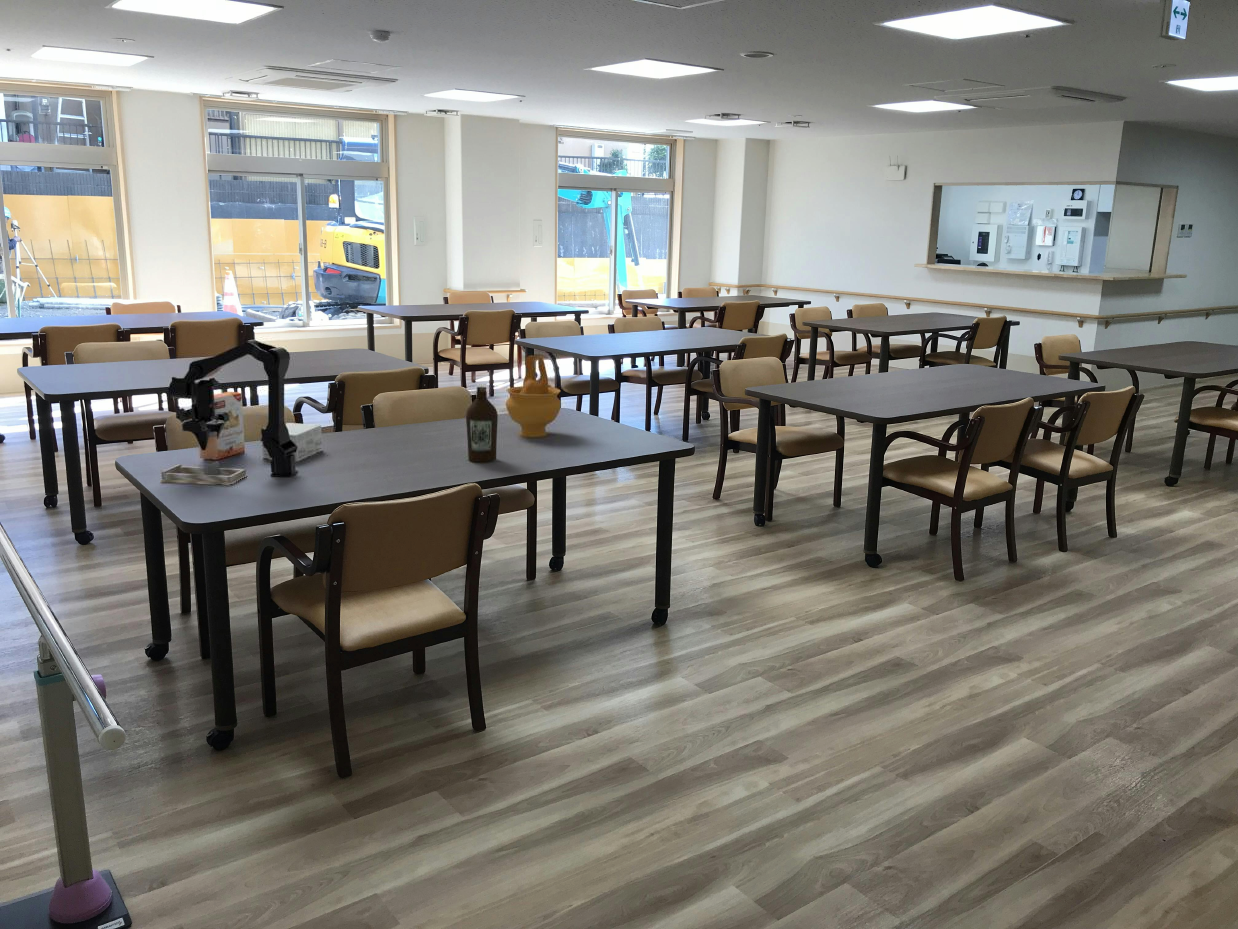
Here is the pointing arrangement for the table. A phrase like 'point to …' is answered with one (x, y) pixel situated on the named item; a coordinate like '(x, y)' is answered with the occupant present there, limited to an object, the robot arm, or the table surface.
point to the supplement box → (302, 440)
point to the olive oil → (481, 429)
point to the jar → (210, 447)
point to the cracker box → (230, 424)
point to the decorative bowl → (533, 401)
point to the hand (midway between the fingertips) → (208, 448)
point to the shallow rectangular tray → (201, 475)
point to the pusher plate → (212, 469)
